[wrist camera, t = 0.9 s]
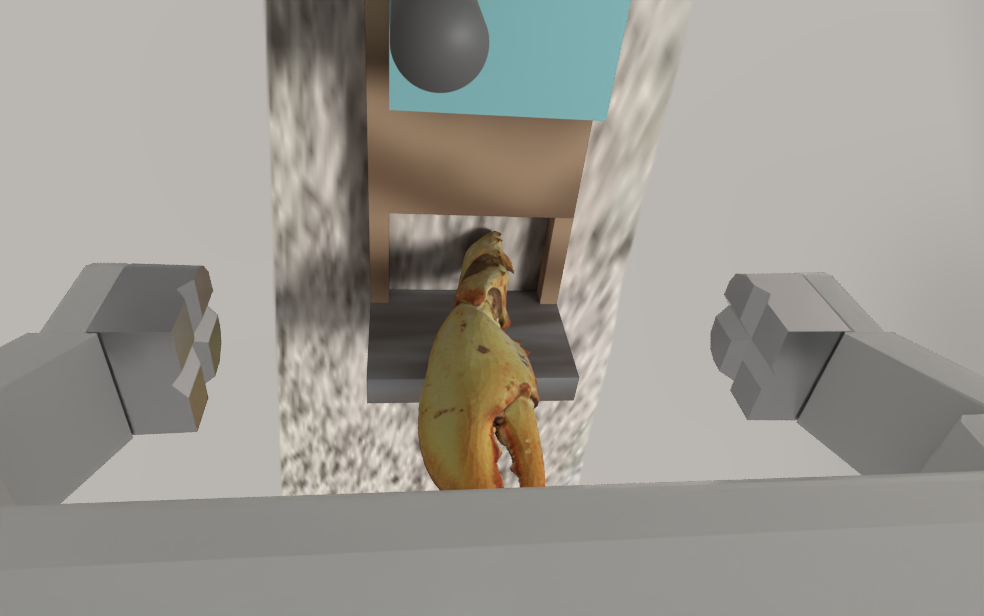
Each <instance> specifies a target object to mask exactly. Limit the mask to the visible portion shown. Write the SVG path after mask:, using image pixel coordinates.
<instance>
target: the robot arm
mask: <svg viewBox="0 0 984 616" xmlns="http://www.w3.org/2000/svg"><path fill="white" fill-rule="evenodd" d="M212 292H213V289H212V285H211V281H210V276H209V272H208V271H207V270H206V269H205V267H204V266H190V265H160V264H127V263H93V264H90V265H86V266H85V268H84V269H83V270H82V272H81V273H80V275H79V276H78V278H77V279H76V280H75V282H74V283H73V285H72V286H71V288H70V289H69V291H68V292H67V294H66V295H65V297H64V298H63V299H62V301H61V303H60V304H59V305H58V307H57V308H56V310H55V311H54V313H53V314H52V315H51V317H50V318H49V320H48V321H47V323H46V324H45V326H44V327H43V329H42V330H41V332H40V333H27V334H25V335H23V336H21V337H19V338H17V339H15V340H13V341H11V342H9V343H7V344H5V345H3V346H2V347H0V616H984V377H983V376H981V375H979V374H977V373H975V372H973V371H971V370H969V369H967V368H965V367H963V366H961V365H958V364H956V363H955V362H953V361H951V360H948V359H946V358H944V357H942V356H940V355H938V354H936V353H934V352H932V351H930V350H928V349H926V348H924V347H922V346H920V345H918V344H916V343H914V342H912V341H910V340H908V339H906V338H904V337H901V336H900V335H898V334H896V333H893V332H884V331H883V330H882V329H881V328H880V327H879V326H878V325H877V324H876V322H875V321H874V320H873V319H872V318H871V317H870V316H869V315H868V314H867V313H866V312H865V311H864V310H863V308H862V307H861V306H860V305H859V304H858V303H857V302H856V301H855V300H854V299H853V298H852V297H851V296H850V295H849V293H848V292H847V291H846V290H845V289H844V288H843V287H842V286H841V285H840V284H839V283H838V282H837V281H836V280H835V278H834V277H833V276H831V275H829V274H826V273H824V272H815V273H791V274H790V273H786V274H785V273H784V274H735V276H734V277H733V278H732V279H731V280H730V282H729V284H728V287H727V289H726V291H725V294H724V295H725V297H726V299H727V302H728V304H729V306H728V307H727V308H725V309H724V310H723V311H722V312H721V313H720V314H718V315H717V316H716V318H715V321H714V324H713V327H712V330H711V352H712V356H713V360H714V362H715V364H716V366H717V367H718V369H719V371H720V372H722V373H723V374H725V375H726V376H728V377H729V378H731V379H732V380H734V382H733V384H732V387H731V392H732V394H733V396H734V398H735V399H736V401H737V403H738V404H739V406H740V408H741V409H742V411H743V413H744V415H745V417H746V418H747V420H798V421H797V423H798V424H799V425H800V426H802V427H803V428H804V429H805V430H807V431H808V432H809V433H810V434H812V435H813V436H814V437H815V438H817V439H818V440H819V441H820V442H822V443H823V444H824V445H825V446H827V447H828V448H829V449H830V450H832V451H833V452H834V453H835V454H837V455H838V456H839V457H840V458H841V459H843V460H844V461H845V462H846V463H848V464H849V465H850V466H851V467H853V468H854V469H855V470H856V471H858V472H859V473H860V474H861V476H832V477H803V478H777V479H776V478H774V479H747V480H746V479H744V480H717V481H689V482H659V483H658V482H657V483H629V484H601V485H574V486H547V487H521V488H494V489H467V490H440V491H413V492H385V493H357V494H329V495H301V496H273V497H245V498H217V499H189V500H161V501H133V502H108V503H107V502H105V503H77V504H61V503H62V502H63V501H64V500H65V499H66V498H67V497H68V496H69V495H70V494H71V493H73V492H74V491H75V490H76V489H77V488H78V487H79V486H80V485H81V484H83V483H84V482H85V481H86V480H87V479H88V478H89V477H90V476H92V475H93V474H94V473H95V472H96V471H97V470H98V469H99V468H100V467H101V466H102V465H104V464H105V463H106V462H107V461H108V460H109V459H110V458H111V457H112V456H114V454H116V453H117V452H118V451H119V450H120V449H121V448H122V447H123V446H125V445H126V444H127V443H128V442H129V441H130V440H131V439H132V438H133V436H132V435H139V434H140V435H141V434H161V433H183V432H197V431H198V428H199V425H200V422H201V419H202V415H203V412H204V409H205V406H206V403H207V400H208V395H207V390H206V385H205V383H206V382H208V381H209V380H211V379H212V378H213V377H215V375H216V372H217V368H218V365H219V361H220V351H221V331H220V324H219V319H218V315H217V314H216V313H215V312H214V311H213V310H212V309H210V308H209V307H208V306H207V305H208V302H209V299H210V297H211V294H212Z"/></svg>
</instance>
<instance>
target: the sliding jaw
mask: <svg viewBox="0 0 984 616" xmlns="http://www.w3.org/2000/svg"><path fill="white" fill-rule="evenodd" d="M630 2H631V0H389V110H398V111H417V112H437V113H456V114H476V115H496V116H515V117H535V118H554V119H574V120H593V121H606V117H607V112H608V108H609V103H610V98H611V93H612V88H613V84H614V79H615V74H616V69H617V65H618V60H619V55H620V50H621V45H622V41H623V36H624V31H625V26H626V22H627V17H628V12H629V7H630Z"/></svg>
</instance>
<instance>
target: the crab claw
mask: <svg viewBox="0 0 984 616" xmlns="http://www.w3.org/2000/svg"><path fill="white" fill-rule="evenodd" d="M500 236H501V233H499V232H497V231H493V232H490V233H488V234H485V235H484V236H483V237H482V238H480V239H479V240H478V241H476V242H475V243H474V244H473V245H471V246H470V248H469V249H468V250H467V252H466V254H465V257H464V260H463V264H462V270H461V275H460V281H459V285H458V288H457V291H456V294H455V299H454V305H453V309H452V312H451V313H450V314H449V316H448V317H447V318H446V320H445V321H444V323H443V324H442V326H441V328H440V329H439V331H438V333H437V335H436V337H435V340H434V343H433V346H432V349H431V352H430V357H429V362H428V369H427V373H426V377H425V381H424V386H423V388H422V392H421V397H420V404H419V409H418V410H419V416H418V438H419V444H420V450H421V454H422V457H423V461H424V464H425V467H426V469H427V471H428V473H429V475H430V477H431V479H432V481H433V482H434V484H435V485H436V486H437V487H438V488H439V490H467V489H494V488H504V482H503V479H502V476H501V474H500V473H499V469H498V465H497V464H496V463H497V462H498V460H499V459H500V457H501V455H502V449H501V447H500V446H499V445H498V444H497V439H498V441H499V442H500V443H501V444H502V445H504V446H506V448H507V450H508V451H509V454H510V455H511V457H512V458H511V459H512V460H513V461H512V463H513V464H512V466H511V468H510V470H511V471H512V472H513V473H514V474H515V475H516V476H517V477H518V478H519V480H518V481H519V483H520V488H521V487H545V471H544V462H543V454H542V447H541V442H540V438H539V433H538V428H537V422H536V417H535V413H534V408H536V407H537V406H538V403H539V396H538V393H537V387H536V385H537V379H536V378H535V376H534V373H533V370H532V367H531V365H530V362H529V360H528V358H527V355H528V354H530V353H531V352H530V351H528V350H525V349H523V348H521V347H520V344H521V342H519V341H513V340H512V339H511V338H510V337H509V336H508V335H507V334H506V333H505V332H504V331H505V330H506V329H507V328H508V327H509V326H510V325H511V321H510V319H509V316H508V314H507V311H506V295H507V285H508V282H509V274H508V271H510V272H512V273H513V274H514V270H513V267H512V263H511V261H510V259H509V258H508V257H507V255H506V254H505V253H504V252H503V251H502V240H501V238H500ZM494 434H495V435H496V437H497V438H495V437H494V436H493V435H494Z"/></svg>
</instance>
